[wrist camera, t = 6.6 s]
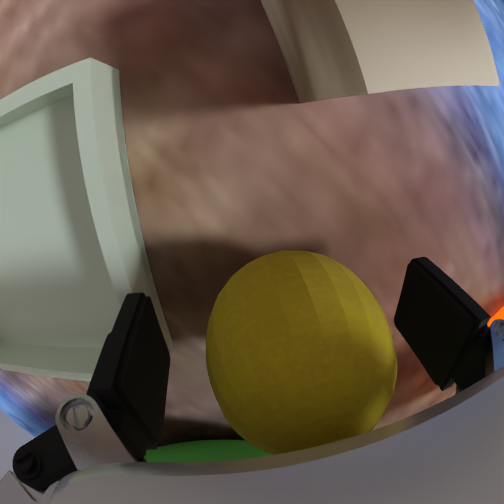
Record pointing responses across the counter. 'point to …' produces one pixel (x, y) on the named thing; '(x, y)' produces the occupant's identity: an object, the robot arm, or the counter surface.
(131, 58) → the counter surface
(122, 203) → the tray
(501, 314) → the orange juice
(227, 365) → the lemon
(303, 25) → the beech block
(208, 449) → the toy bird
